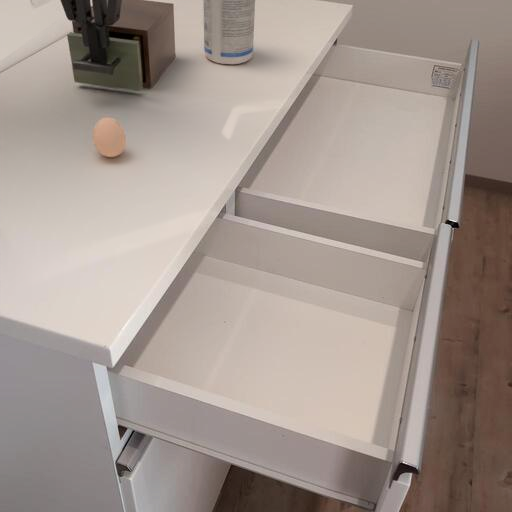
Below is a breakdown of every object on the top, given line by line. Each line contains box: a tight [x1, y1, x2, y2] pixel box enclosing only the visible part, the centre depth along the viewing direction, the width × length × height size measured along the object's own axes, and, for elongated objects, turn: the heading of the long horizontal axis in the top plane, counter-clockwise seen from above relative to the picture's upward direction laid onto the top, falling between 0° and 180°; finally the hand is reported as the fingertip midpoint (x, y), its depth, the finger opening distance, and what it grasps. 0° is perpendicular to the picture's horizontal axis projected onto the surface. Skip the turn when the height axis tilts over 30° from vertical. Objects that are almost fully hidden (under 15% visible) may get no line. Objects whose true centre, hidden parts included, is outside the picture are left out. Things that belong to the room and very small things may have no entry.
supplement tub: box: [202, 0, 256, 65], centre depth 102 cm, size 10×10×15 cm
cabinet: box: [71, 0, 176, 89], centre depth 97 cm, size 15×13×10 cm
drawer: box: [66, 30, 146, 92], centre depth 92 cm, size 19×12×8 cm, turn 170°
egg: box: [92, 117, 127, 158], centre depth 75 cm, size 4×4×6 cm
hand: (99, 67), depth 87 cm, fingers closed
